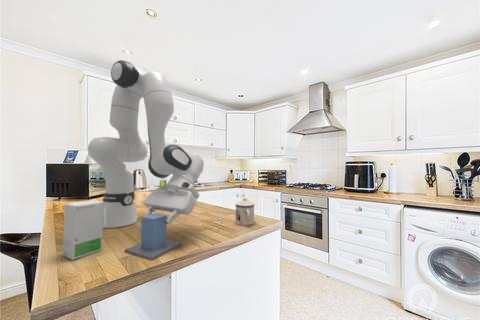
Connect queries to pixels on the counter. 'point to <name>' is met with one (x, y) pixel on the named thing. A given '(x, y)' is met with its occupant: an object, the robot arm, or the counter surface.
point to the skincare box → (82, 229)
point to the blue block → (153, 231)
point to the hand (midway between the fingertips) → (156, 221)
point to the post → (152, 254)
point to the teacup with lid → (244, 212)
